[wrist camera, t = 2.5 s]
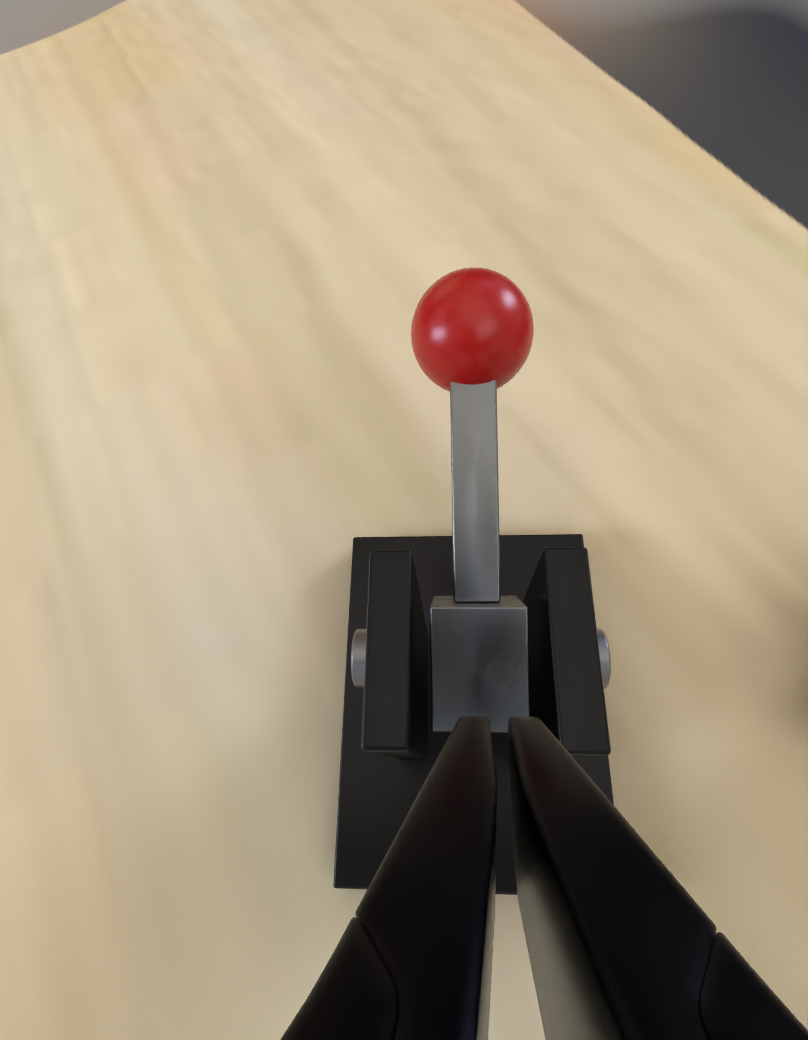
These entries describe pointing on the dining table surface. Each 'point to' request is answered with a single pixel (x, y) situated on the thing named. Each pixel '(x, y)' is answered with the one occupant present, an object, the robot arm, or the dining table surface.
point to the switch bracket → (407, 683)
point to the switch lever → (475, 496)
